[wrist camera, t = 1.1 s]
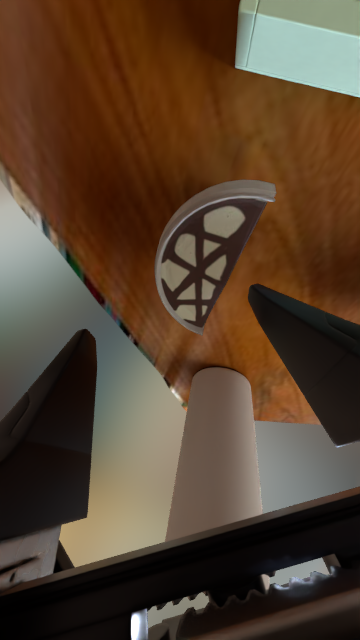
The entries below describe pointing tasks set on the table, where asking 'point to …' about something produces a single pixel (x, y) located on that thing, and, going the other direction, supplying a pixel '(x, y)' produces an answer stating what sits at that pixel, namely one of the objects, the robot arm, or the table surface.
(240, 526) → the robot arm
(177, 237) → the food container
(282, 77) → the light green open box
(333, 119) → the table surface
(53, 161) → the table surface
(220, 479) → the cylinder vase
